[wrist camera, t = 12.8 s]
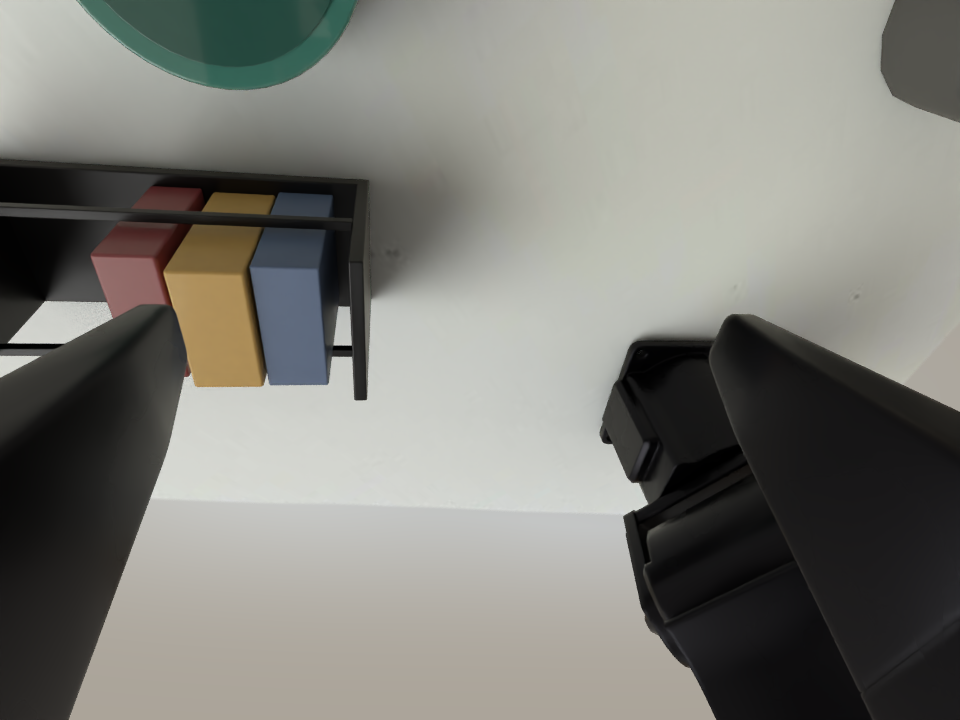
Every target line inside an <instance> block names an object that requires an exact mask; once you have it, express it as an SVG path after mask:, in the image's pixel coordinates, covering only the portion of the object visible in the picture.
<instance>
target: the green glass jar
mask: <svg viewBox="0 0 960 720" xmlns="http://www.w3.org/2000/svg"><path fill="white" fill-rule="evenodd" d="M77 1H78V3H79V4H80V5H81V6H82V7H83V8H84V10H85V11H86V12H87V13H88V14H89V15H90V16H91V17H92V18H93V19H94V20H95V21H96V22H97V23H98V24H99V25H100V26H101V27H102V28H103V29H104V30H105V31H106V32H107V33H109V34H110V35H111V36H112V37H114V38H115V39H116V40H117V41H118V42H120V43H121V44H122V45H123V46H125V47H126V48H127V49H129V50H130V51H132V52H133V53H135V54H136V55H138V56H139V57H141V58H142V59H144V60H145V61H147V62H148V63H150V64H152V65H154V66H156V67H158V68H159V69H161V70H163V71H165V72H167V73H169V74H172V75H174V76H177V77H179V78H182V79H184V80H186V81H189V82H193V83H196V84H200V85H204V86H207V87H213V88H219V89H226V90H253V89H261V88H267V87H271V86H274V85H278V84H282V83H284V82H287V81H289V80H291V79H293V78H295V77H298V76H300V75H301V74H303V73H304V72H306V71H307V70H309V69H310V68H312V67H313V66H315V65H316V64H317V63H318V62H319V61H320V60H321V59H322V58H323V57H325V56H326V55H327V54H328V53H329V51H330V50H331V49H332V48H333V46H334V45H335V44H336V43H337V42H338V40H339V39H340V37H341V36H342V34H343V32H344V31H345V29H346V27H347V26H348V24H349V22H350V20H351V18H352V15H353V13H354V10H355V8H356V6H357V3H358V1H359V0H77Z"/></svg>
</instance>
